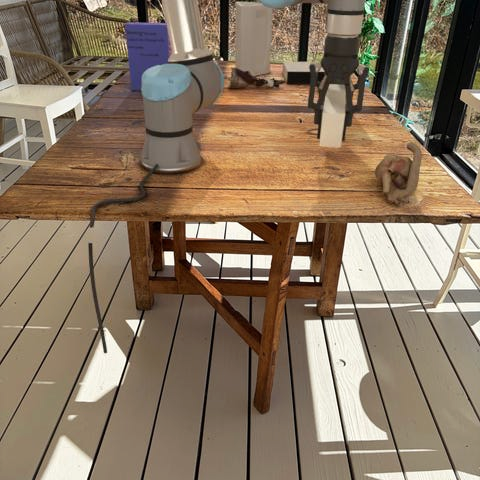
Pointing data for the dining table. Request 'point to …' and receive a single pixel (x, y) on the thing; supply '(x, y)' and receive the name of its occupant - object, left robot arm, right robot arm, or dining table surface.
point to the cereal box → (146, 49)
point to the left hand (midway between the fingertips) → (330, 138)
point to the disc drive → (299, 72)
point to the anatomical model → (399, 174)
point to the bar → (333, 116)
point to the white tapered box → (253, 37)
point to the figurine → (249, 80)
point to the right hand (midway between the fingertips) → (334, 103)
